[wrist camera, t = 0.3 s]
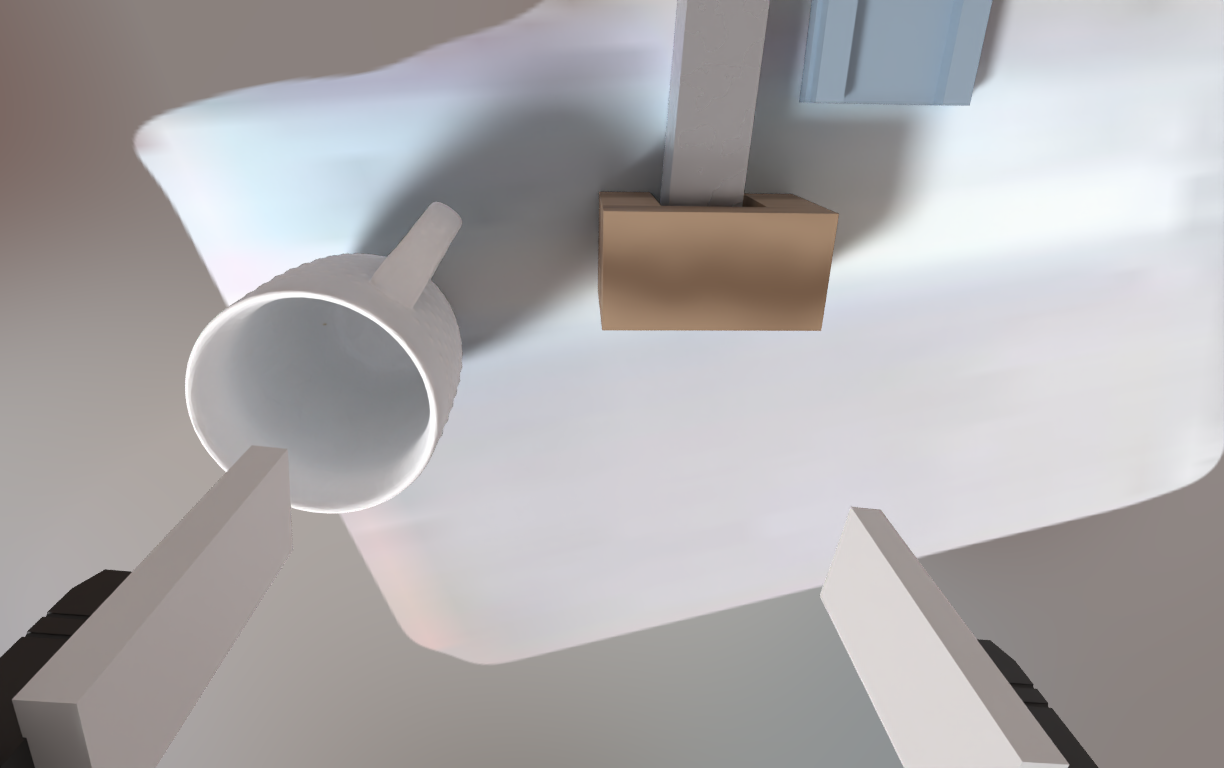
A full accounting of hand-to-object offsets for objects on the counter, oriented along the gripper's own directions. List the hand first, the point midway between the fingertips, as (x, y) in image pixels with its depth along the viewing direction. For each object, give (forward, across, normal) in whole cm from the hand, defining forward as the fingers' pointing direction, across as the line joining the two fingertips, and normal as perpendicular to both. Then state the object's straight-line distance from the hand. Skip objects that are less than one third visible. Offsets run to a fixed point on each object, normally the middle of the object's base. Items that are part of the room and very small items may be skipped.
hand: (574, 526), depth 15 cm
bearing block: (+27, +7, +2) cm, 28 cm away
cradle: (+27, +15, +17) cm, 35 cm away
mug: (+27, -10, -4) cm, 29 cm away
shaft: (+27, +6, +8) cm, 29 cm away
